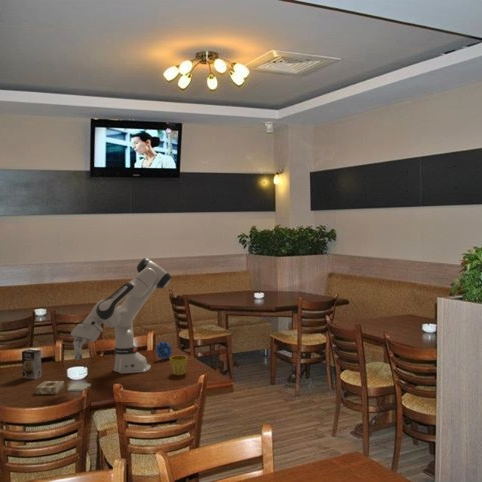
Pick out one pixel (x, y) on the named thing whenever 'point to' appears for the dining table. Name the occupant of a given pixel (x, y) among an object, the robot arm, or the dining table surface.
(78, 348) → the metal peg
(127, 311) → the robot arm
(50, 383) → the pocket block
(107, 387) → the dining table surface
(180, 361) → the plant pot
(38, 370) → the coffee box
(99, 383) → the dining table surface
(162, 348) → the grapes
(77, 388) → the sage plate
